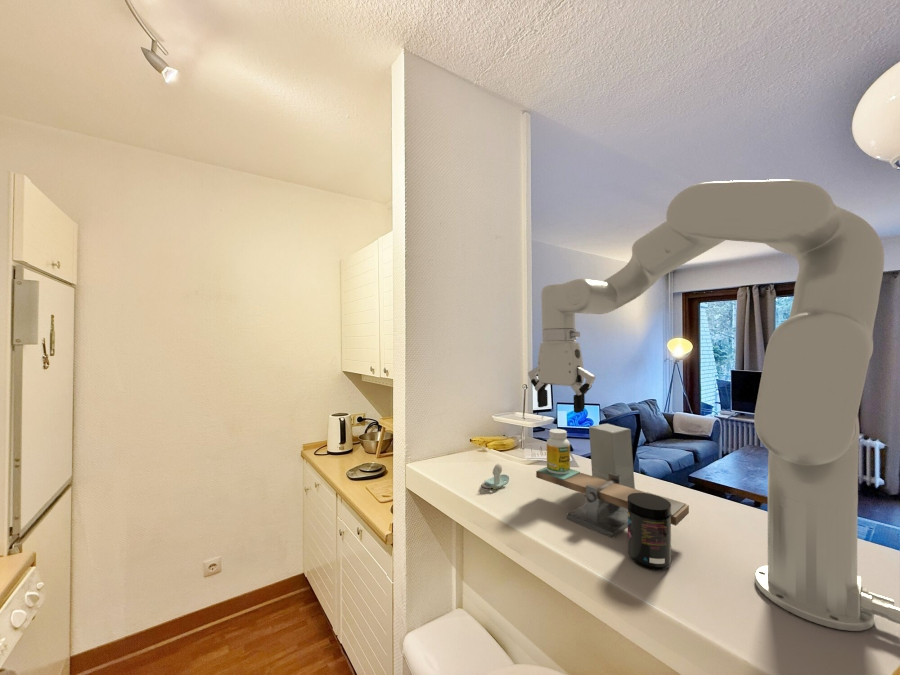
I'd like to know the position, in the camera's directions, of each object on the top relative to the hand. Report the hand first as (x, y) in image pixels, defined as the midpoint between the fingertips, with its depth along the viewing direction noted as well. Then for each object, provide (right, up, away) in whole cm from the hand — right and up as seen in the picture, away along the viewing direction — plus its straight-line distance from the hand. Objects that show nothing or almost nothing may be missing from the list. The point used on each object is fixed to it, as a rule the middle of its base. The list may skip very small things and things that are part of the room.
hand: (560, 409), depth 88 cm
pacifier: (-14, -22, +9) cm, 28 cm away
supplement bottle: (0, -15, +1) cm, 15 cm away
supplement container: (+9, -22, -23) cm, 33 cm away
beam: (+7, -16, -8) cm, 19 cm away
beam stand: (+7, -22, -8) cm, 24 cm away
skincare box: (+15, -22, +7) cm, 28 cm away
